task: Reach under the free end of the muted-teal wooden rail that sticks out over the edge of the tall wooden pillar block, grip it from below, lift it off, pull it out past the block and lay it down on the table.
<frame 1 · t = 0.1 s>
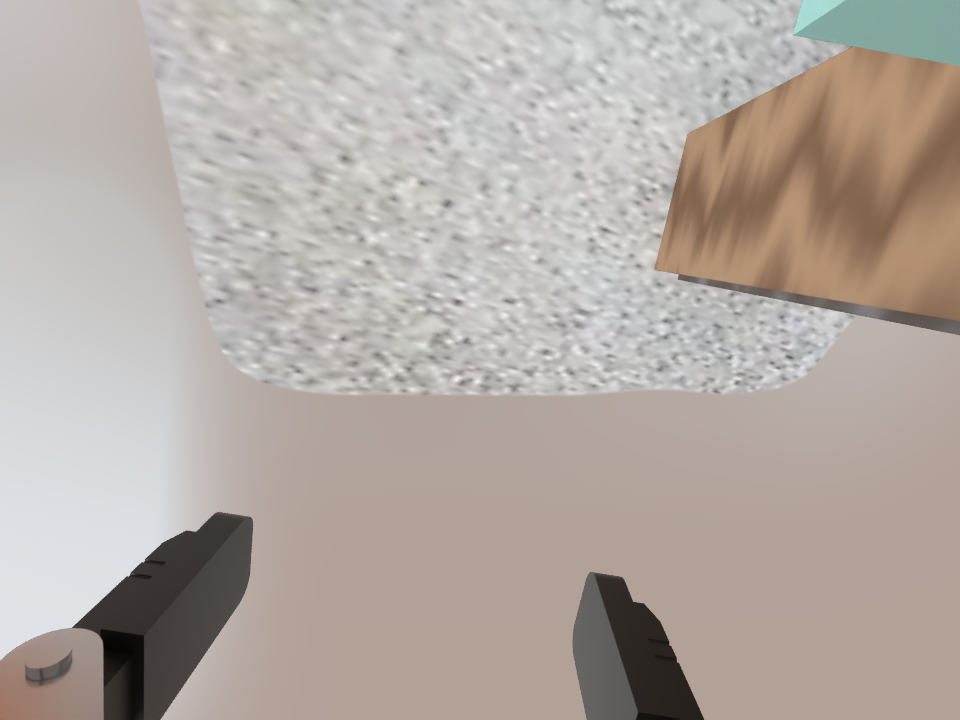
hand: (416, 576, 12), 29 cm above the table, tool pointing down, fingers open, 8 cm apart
tall wooden pillar block: (747, 217, 38), on the table
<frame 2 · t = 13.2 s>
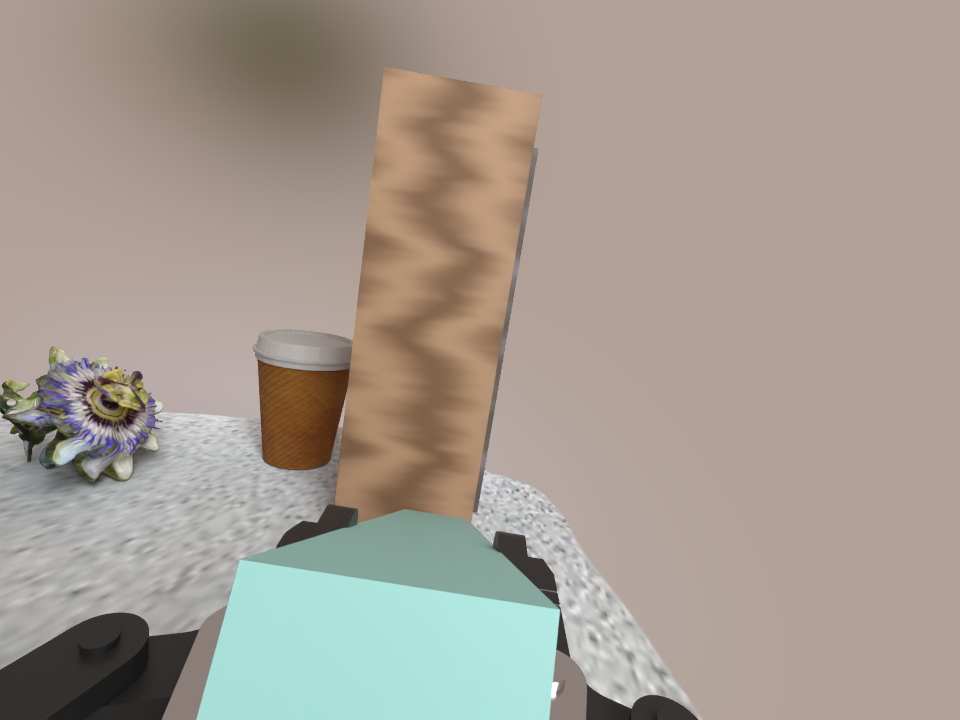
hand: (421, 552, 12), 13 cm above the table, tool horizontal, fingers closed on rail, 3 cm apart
disposable coffee cup: (297, 459, 48), on the table
passion flower: (78, 470, 40), on the table
rail: (410, 640, 16), point 8 cm above the table, tilted 26°, touching gripper
tall wooden pillar block: (408, 506, 42), on the table
when the fingers open (12 cm above the table, at t = 14.0 s): rail drops 7 cm, on the table.
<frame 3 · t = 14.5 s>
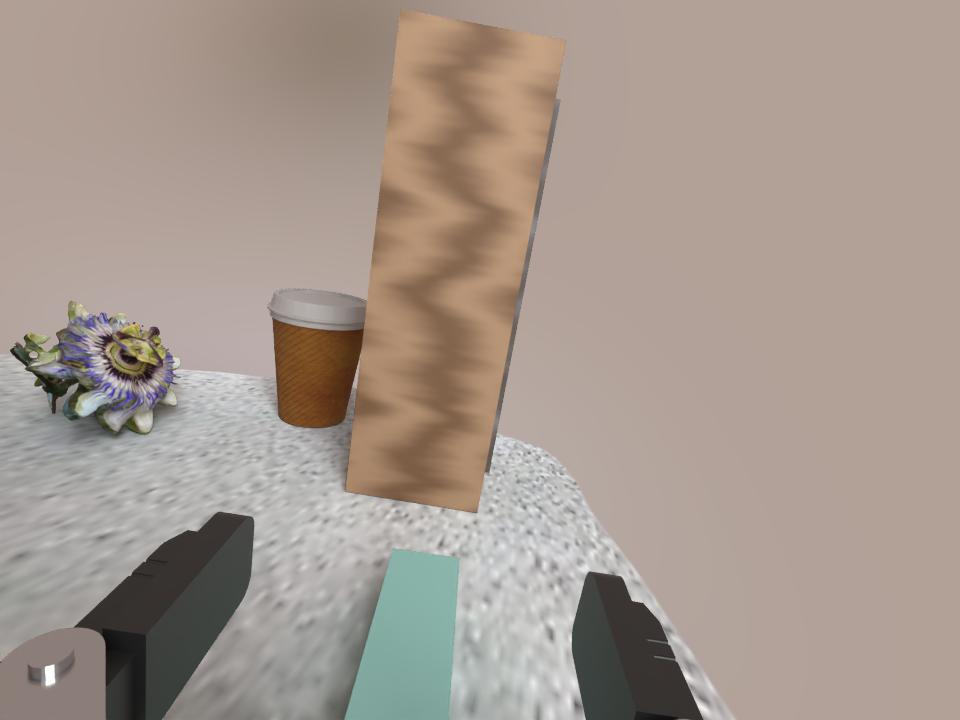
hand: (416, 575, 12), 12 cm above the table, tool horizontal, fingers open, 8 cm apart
disposable coffee cup: (312, 417, 49), on the table
passion flower: (100, 422, 41), on the table
tall wooden pillar block: (421, 466, 43), on the table
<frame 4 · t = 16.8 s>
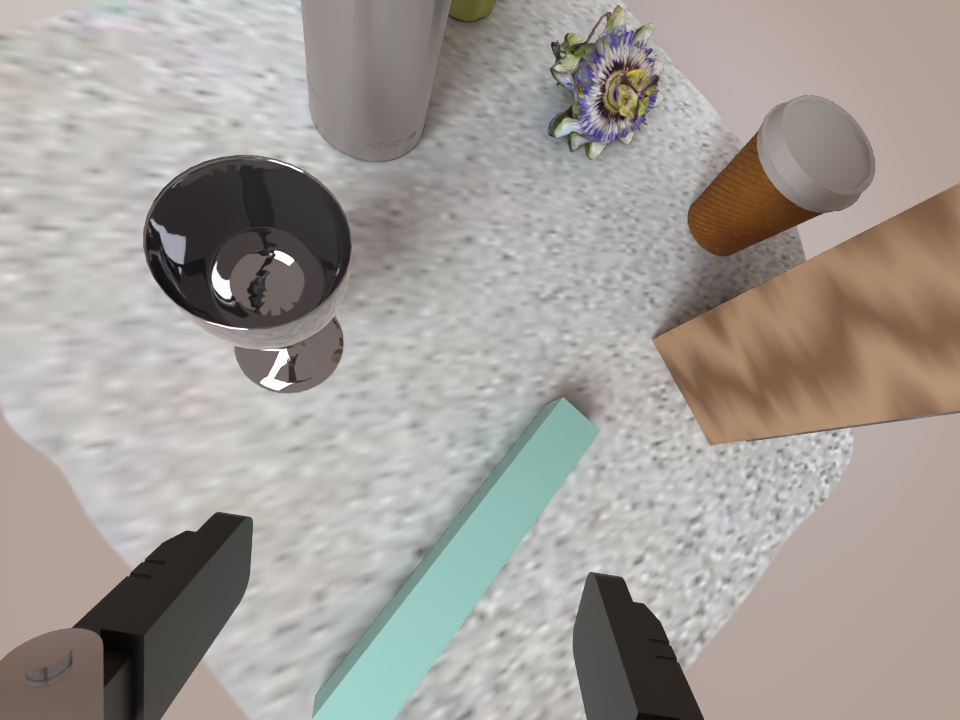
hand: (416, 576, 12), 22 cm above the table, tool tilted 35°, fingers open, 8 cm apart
wine glass: (290, 344, 34), on the table
disposable coffee cup: (714, 227, 48), on the table
passion flower: (576, 118, 47), on the table
rail: (463, 548, 34), on the table
tall wooden pillar block: (729, 364, 44), on the table
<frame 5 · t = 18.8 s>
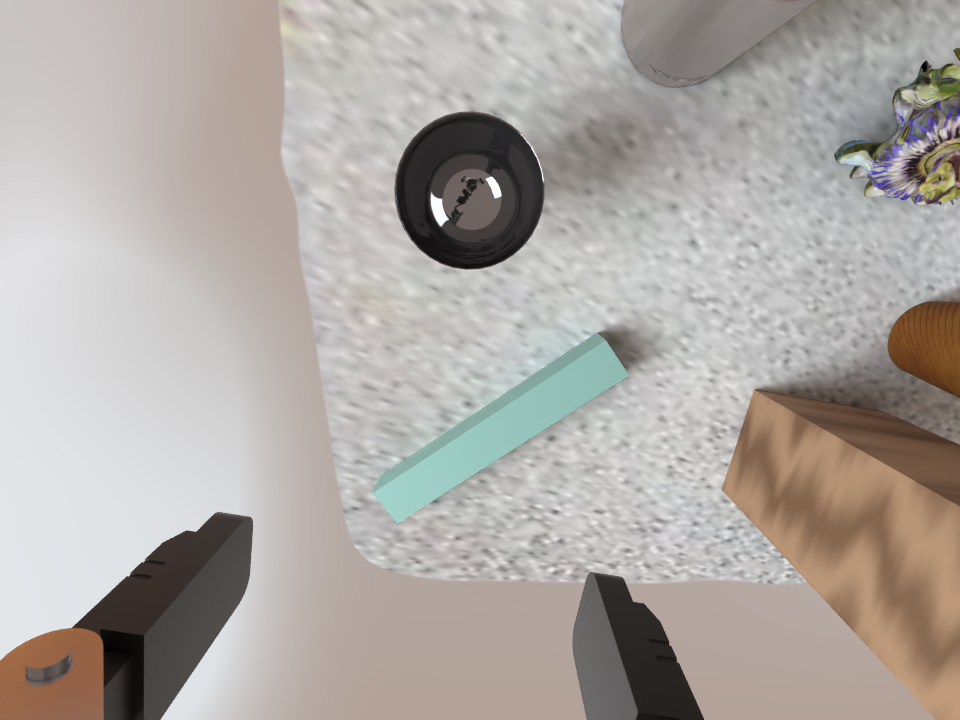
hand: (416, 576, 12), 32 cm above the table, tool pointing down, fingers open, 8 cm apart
wine glass: (475, 209, 40), on the table
disposable coffee cup: (922, 337, 43), on the table
passion flower: (897, 137, 39), on the table
rail: (495, 421, 45), on the table
tall wooden pillar block: (801, 451, 45), on the table
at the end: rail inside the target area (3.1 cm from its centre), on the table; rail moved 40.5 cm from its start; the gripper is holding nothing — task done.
